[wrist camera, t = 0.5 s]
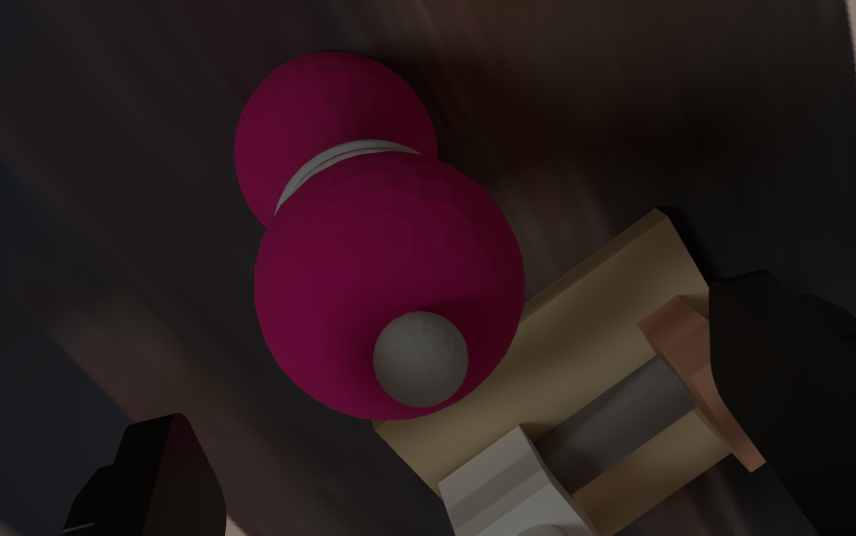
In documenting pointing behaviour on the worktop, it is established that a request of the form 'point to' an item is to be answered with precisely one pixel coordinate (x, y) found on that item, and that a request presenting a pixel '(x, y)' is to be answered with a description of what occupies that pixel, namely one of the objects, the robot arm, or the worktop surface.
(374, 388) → the pepper mill
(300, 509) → the worktop surface
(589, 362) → the track
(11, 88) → the worktop surface
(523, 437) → the white handled block
